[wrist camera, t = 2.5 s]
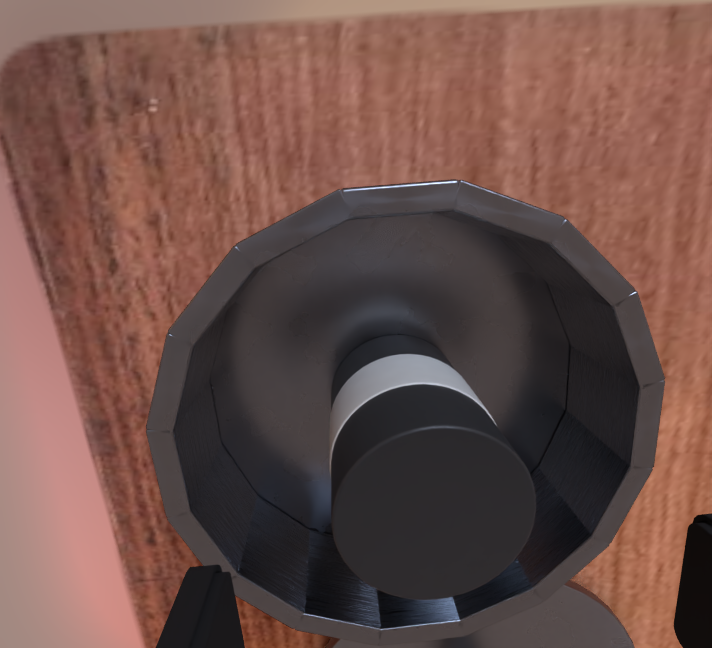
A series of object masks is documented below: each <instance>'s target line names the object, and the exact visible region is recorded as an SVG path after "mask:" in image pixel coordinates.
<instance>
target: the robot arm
mask: <svg viewBox="0 0 712 648" xmlns="http://www.w3.org/2000/svg"><path fill="white" fill-rule="evenodd" d="M674 630H675V633H676V636H677V638H678V640H679V642H680V644H681V645H682V647H683V648H712V514H703V515H697V516H696V517H695V518H694V521H693V524H691V525H689V527H688V531H687V538H686V545H685V552H684V558H683V565H682V572H681V579H680V585H679V592H678V599H677V606H676V612H675V619H674ZM156 648H245V646H244V640H243V635H242V630H241V625H240V619H239V614H238V609H237V604H236V598H235V593H234V588H233V582H232V577H231V573H230V572H222V569H221V566H220V565H208V566H198V567H190V568H189V569H188V570H187V572H186V574H185V577H184V579H183V582H182V584H181V587H180V589H179V592H178V594H177V597H176V599H175V601H174V604H173V606H172V609H171V611H170V614H169V616H168V619H167V621H166V624H165V626H164V629H163V631H162V634H161V636H160V639H159V641H158V644H157V646H156Z"/></svg>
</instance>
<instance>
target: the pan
mask: <svg viewBox="0 0 712 648" xmlns="http://www.w3.org/2000/svg"><path fill="white" fill-rule="evenodd" d="M388 335H408V336H412V337H417V338H419V339H422V340H425V341H426V342H428V343H430V344H432V345H433V346H435V347H436V348H437V349H439V350H440V351H441V352H442V353H443V354H444V355H445V357H446V358H447V359H448V361H449V362H450V363H451V365H452V366H453V367H454V369H455V370H456V371H457V372H458V373H459V374H460V375H461V376H462V377H463V379H464V380H465V381H466V382H467V384H468V385H469V386H470V388H471V389H472V390H473V392H474V393H475V394H476V396H477V397H478V398H479V400H480V401H481V402H482V404H483V405H484V406H485V408H486V409H487V410H488V412H489V413H490V414H491V416H492V418H493V419H494V421H495V423H496V425H497V427H498V428H499V430H500V431H501V432H502V434H503V435H504V436H505V438H506V439H507V440H508V442H509V443H510V445H511V446H512V447H513V449H514V450H515V451H516V453H517V454H518V455H519V457H520V458H521V459H522V461H523V462H524V464H525V465H526V467H527V469H528V471H529V473H530V475H531V478H532V481H533V483H534V488H535V494H536V514H535V521H534V524H533V528H532V531H531V534H530V536H529V538H528V541H527V542H526V544H525V546H524V547H523V549H522V551H521V552H520V553H519V555H518V556H517V557H516V559H515V560H514V561H513V562H512V563H511V564H510V565H509V566H508V567H507V568H506V569H505V570H504V571H503V572H501V573H500V574H499V575H498V576H497V577H495V578H494V579H492V580H490V581H489V582H487V583H486V584H484V585H482V586H480V587H478V588H476V589H474V590H471V591H469V592H466V593H464V594H460V595H457V596H453V597H449V598H442V599H434V600H414V599H407V598H401V597H397V596H393V595H390V594H387V593H384V592H382V591H379V590H377V589H375V588H374V587H372V586H370V585H368V584H367V583H366V582H364V581H363V580H361V579H360V578H359V577H358V576H357V575H356V574H355V573H354V572H353V571H352V570H351V569H350V568H349V567H348V565H347V564H346V563H345V562H344V560H343V558H342V557H341V555H340V553H339V551H338V549H337V547H336V544H335V541H334V538H333V533H332V528H331V475H330V466H329V431H330V414H331V389H332V384H333V380H334V377H335V374H336V372H337V370H338V368H339V367H340V365H341V363H342V362H343V361H344V360H345V358H346V357H347V356H348V355H349V354H350V353H351V352H352V351H353V350H355V349H356V348H357V347H359V346H360V345H362V344H364V343H366V342H368V341H370V340H372V339H375V338H378V337H382V336H388ZM664 379H665V377H664V374H663V371H662V368H661V364H660V361H659V358H658V355H657V352H656V349H655V346H654V342H653V339H652V336H651V333H650V330H649V327H648V324H647V321H646V317H645V314H644V311H643V308H642V305H641V302H640V299H639V295H638V292H637V291H635V289H634V287H633V286H632V285H631V284H630V283H629V282H628V281H627V280H626V279H625V278H624V277H623V276H622V275H621V274H620V273H619V272H618V271H617V270H616V269H615V268H614V267H613V266H612V265H611V264H610V263H609V262H608V261H607V260H606V259H605V258H604V257H603V256H602V255H601V254H600V253H599V252H598V251H597V249H596V248H595V247H594V246H593V245H592V244H591V243H590V242H589V241H588V240H587V239H586V238H585V237H584V236H583V235H582V234H581V233H580V232H579V231H578V230H577V229H576V228H575V227H574V226H573V225H572V224H571V223H570V222H569V221H568V220H567V219H565V218H564V217H563V216H561V215H558V214H555V213H553V212H550V211H547V210H544V209H541V208H539V207H536V206H533V205H530V204H527V203H525V202H522V201H519V200H516V199H514V198H511V197H508V196H505V195H502V194H500V193H497V192H494V191H491V190H489V189H486V188H483V187H480V186H477V185H475V184H472V183H469V182H466V181H464V180H456V179H454V180H441V181H428V182H416V183H403V184H390V185H378V186H365V187H353V188H343V189H341V190H340V189H338V190H336V191H334V192H332V193H331V194H329V195H327V196H325V197H323V198H321V199H319V200H317V201H316V202H314V203H312V204H310V205H308V206H306V207H304V208H302V209H301V210H299V211H297V212H295V213H293V214H291V215H289V216H287V217H286V218H284V219H282V220H280V221H278V222H276V223H274V224H272V225H270V226H269V227H267V228H265V229H263V230H261V231H259V232H257V233H255V234H254V235H252V236H250V237H248V238H246V239H244V240H242V241H240V242H239V243H237V244H236V245H235V246H233V248H232V249H231V250H230V251H229V253H228V254H227V255H226V257H225V258H224V259H223V260H222V262H221V263H220V264H219V266H218V267H217V268H216V269H215V271H214V272H213V273H212V275H211V276H210V277H209V278H208V280H207V281H206V282H205V284H204V285H203V286H202V287H201V289H200V290H199V291H198V293H197V294H196V295H195V296H194V298H193V299H192V300H191V302H190V303H189V304H188V305H187V307H186V308H185V309H184V311H183V312H182V313H181V314H180V316H179V317H178V318H177V320H176V321H175V322H174V323H173V325H172V326H171V327H170V329H169V330H168V333H167V335H166V339H165V344H164V348H163V353H162V357H161V362H160V366H159V371H158V375H157V380H156V384H155V389H154V393H153V398H152V402H151V407H150V411H149V416H148V420H147V425H146V429H147V430H146V433H147V437H148V442H149V446H150V450H151V454H152V459H153V463H154V467H155V471H156V475H157V480H158V484H159V488H160V492H161V496H162V501H163V505H164V509H165V513H166V517H167V520H168V521H169V522H170V524H171V525H172V526H173V528H174V529H175V530H176V531H177V533H178V534H179V535H180V536H181V538H182V539H183V540H184V542H185V543H186V544H187V545H188V547H189V548H190V549H191V551H192V552H193V553H194V554H195V556H196V557H197V558H198V560H199V561H200V562H201V563H202V565H203V566H208V565H220V566H221V569H222V572H230V573H231V577H232V582H233V588H234V593H235V596H237V597H239V598H240V599H242V600H244V601H246V602H247V603H249V604H251V605H252V606H254V607H256V608H258V609H259V610H261V611H263V612H264V613H266V614H268V615H270V616H271V617H273V618H275V619H276V620H278V621H280V622H282V623H283V624H285V625H287V626H288V627H290V628H292V629H294V628H295V630H297V631H303V632H308V633H313V634H318V635H323V636H328V637H333V638H339V639H344V640H349V641H354V642H359V643H364V644H370V645H375V646H378V645H379V646H387V645H396V644H405V643H414V642H422V641H431V640H440V639H449V638H457V637H463V636H467V635H469V634H472V633H474V632H476V631H479V630H481V629H483V628H486V627H488V626H490V625H493V624H495V623H497V622H499V621H502V620H504V619H506V618H509V617H511V616H513V615H516V614H518V613H520V612H522V611H525V610H527V609H529V608H532V607H534V606H536V605H539V604H541V603H543V602H544V601H546V600H547V599H548V598H549V597H551V596H552V595H553V594H554V593H555V592H556V591H557V590H559V589H560V588H561V587H562V586H563V585H564V584H566V583H567V582H568V581H569V580H570V579H571V578H572V577H574V576H575V575H576V574H577V573H578V572H579V571H580V570H582V569H583V568H584V567H585V566H586V565H587V564H589V563H590V562H591V561H592V560H593V559H594V558H595V557H597V556H598V555H599V554H600V553H601V552H602V551H604V550H605V549H606V548H607V547H608V546H609V544H610V543H611V542H612V540H613V538H614V537H615V535H616V533H617V531H618V530H619V528H620V526H621V524H622V523H623V521H624V519H625V517H626V516H627V514H628V512H629V510H630V509H631V507H632V505H633V503H634V502H635V500H636V498H637V496H638V495H639V493H640V491H641V489H642V488H643V486H644V484H645V482H646V481H647V479H648V477H649V475H650V473H651V472H652V468H653V467H654V461H655V453H656V446H657V438H658V430H659V423H660V415H661V408H662V400H663V392H664V385H665V381H664Z"/></svg>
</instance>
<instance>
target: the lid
mask: <svg viewBox="0 0 712 648" xmlns="http://www.w3.org/2000/svg"><path fill="white" fill-rule="evenodd" d="M325 648H634V645H633V642H632V640H631V639H630V637H629V635H628V633H627V631H626V629H625V628H624V626H623V625H622V623H621V622H620V621H619V619H618V618H617V617H616V615H615V614H614V613H613V612H612V610H611V609H610V608H609V607H608V606H607V605H606V604H605V603H604V602H603V601H602V600H600V599H599V598H598V597H597V596H596V595H595V594H593V593H592V592H590V591H588V590H587V589H585V588H584V587H582V586H581V585H579V584H577V583H575V582H573V581H571V580H569V581H568V582H567V583H566V584H564V585H563V586H562V587H561V588H560V589H559V590H557V591H556V592H555V593H554V594H553V595H552V596H551V597H549V598H548V599H547V600H546V601H544V602H543V603H541V604H539V605H536V606H534V607H532V608H529V609H527V610H525V611H522V612H520V613H518V614H516V615H513V616H511V617H509V618H506V619H504V620H502V621H499V622H497V623H495V624H493V625H490V626H488V627H486V628H483V629H481V630H479V631H476V632H474V633H472V634H469V635H467V636H463V637H457V638H449V639H440V640H431V641H422V642H414V643H405V644H396V645H387V646H379V645H378V646H375V645H370V644H364V643H359V642H354V641H349V640H344V639H339V638H333V637H332V638H331V639H330V641H329V642H328V644H327V645H326V646H325Z"/></svg>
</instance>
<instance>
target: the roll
mask: <svg viewBox="0 0 712 648" xmlns="http://www.w3.org/2000/svg"><path fill="white" fill-rule="evenodd" d="M329 466H330V475H331V528H332V533H333V538H334V541H335V544H336V547H337V549H338V551H339V553H340V555H341V557H342V558H343V560H344V562H345V563H346V564H347V565H348V567H349V568H350V569H351V570H352V571H353V572H354V573H355V574H356V575H357V576H358V577H359V578H360V579H361V580H363V581H364V582H366V583H367V584H368V585H370V586H372V587H374V588H375V589H377V590H379V591H382V592H384V593H387V594H390V595H393V596H397V597H401V598H407V599H414V600H434V599H442V598H449V597H453V596H457V595H460V594H464V593H466V592H469V591H471V590H474V589H476V588H478V587H480V586H482V585H484V584H486V583H487V582H489V581H490V580H492V579H494V578H495V577H497V576H498V575H499V574H500V573H501V572H503V571H504V570H505V569H506V568H507V567H508V566H509V565H510V564H511V563H512V562H513V561H514V560H515V559H516V557H517V556H518V555H519V553H520V552H521V551H522V549H523V547H524V546H525V544H526V542H527V541H528V538H529V536H530V534H531V531H532V528H533V524H534V521H535V514H536V494H535V488H534V483H533V481H532V478H531V475H530V473H529V471H528V469H527V467H526V465H525V464H524V462H523V461H522V459H521V458H520V457H519V455H518V454H517V453H516V451H515V450H514V449H513V447H512V446H511V445H510V443H509V442H508V440H507V439H506V438H505V436H504V435H503V434H502V432H501V431H500V430H499V428H498V427H497V425H496V423H495V421H494V419H493V418H492V416H491V414H490V413H489V412H488V410H487V409H486V408H485V406H484V405H483V404H482V402H481V401H480V400H479V398H478V397H477V396H476V394H475V393H474V392H473V390H472V389H471V388H470V386H469V385H468V384H467V382H466V381H465V380H464V379H463V377H462V376H461V375H460V374H459V373H458V372H457V371H456V370H455V369H454V367H453V366H452V365H451V363H450V362H449V361H448V359H447V358H446V357H445V355H444V354H443V353H442V352H441V351H440V350H439V349H437V348H436V347H435V346H433V345H432V344H430V343H428V342H426V341H425V340H422V339H419V338H417V337H412V336H408V335H388V336H382V337H378V338H375V339H372V340H370V341H368V342H366V343H364V344H362V345H360V346H359V347H357V348H356V349H355V350H353V351H352V352H351V353H350V354H349V355H348V356H347V357H346V358H345V360H344V361H343V362H342V363H341V365H340V367H339V368H338V370H337V372H336V374H335V377H334V380H333V384H332V389H331V414H330V431H329Z"/></svg>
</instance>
